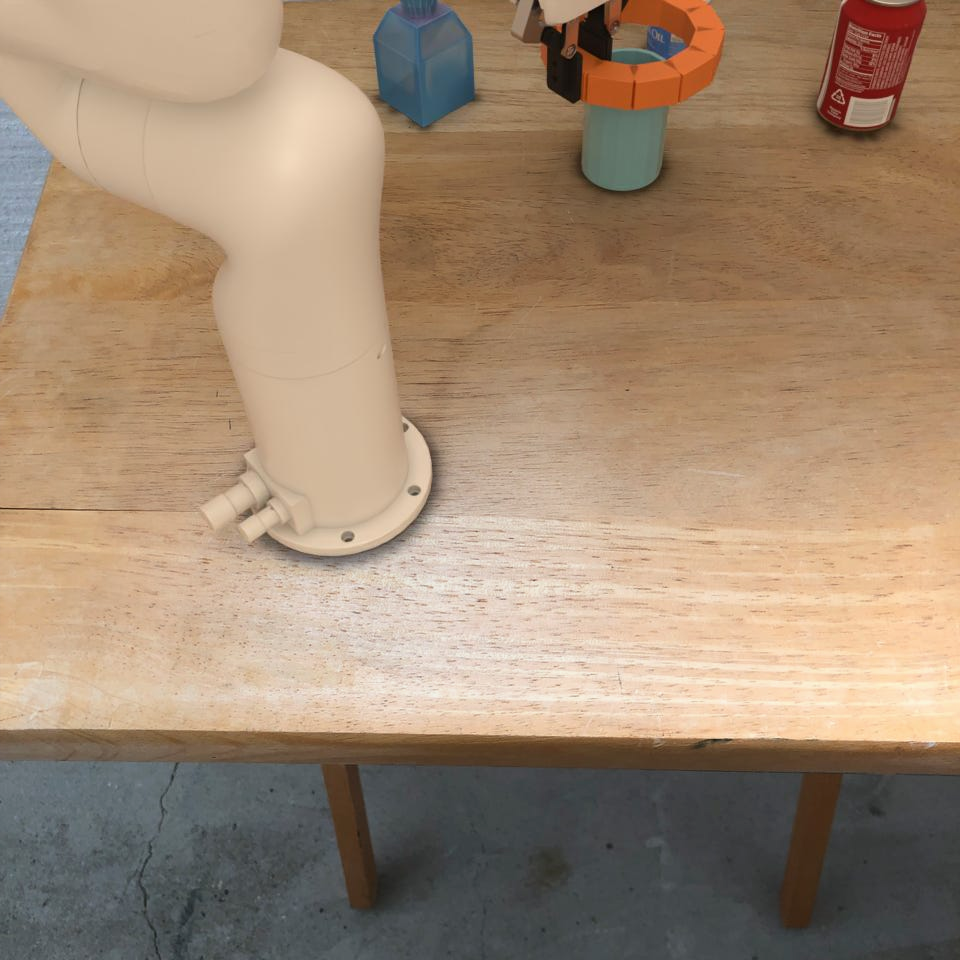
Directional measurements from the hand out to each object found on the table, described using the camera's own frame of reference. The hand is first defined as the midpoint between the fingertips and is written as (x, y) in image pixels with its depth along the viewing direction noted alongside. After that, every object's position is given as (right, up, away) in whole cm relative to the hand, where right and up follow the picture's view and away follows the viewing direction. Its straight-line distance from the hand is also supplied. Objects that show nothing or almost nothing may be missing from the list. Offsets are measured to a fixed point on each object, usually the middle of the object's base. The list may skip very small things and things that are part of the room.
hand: (578, 84), depth 84 cm
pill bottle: (+11, +9, +20) cm, 25 cm away
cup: (+5, -3, +10) cm, 12 cm away
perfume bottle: (-12, +5, +17) cm, 22 cm away
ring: (+4, +3, +2) cm, 6 cm away
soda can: (+26, +2, +14) cm, 29 cm away
